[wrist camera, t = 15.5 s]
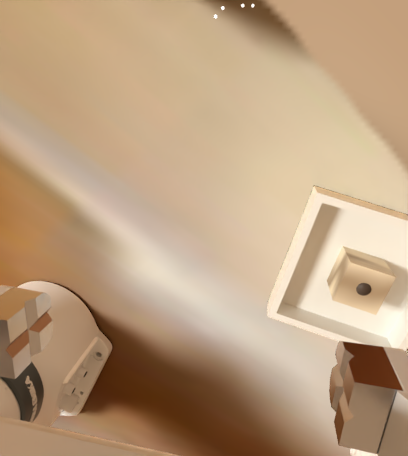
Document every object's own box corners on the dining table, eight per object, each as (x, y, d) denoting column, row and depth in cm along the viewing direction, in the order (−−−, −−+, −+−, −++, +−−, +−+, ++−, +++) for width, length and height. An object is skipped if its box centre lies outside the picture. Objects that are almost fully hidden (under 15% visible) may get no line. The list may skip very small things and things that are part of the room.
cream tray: (389, 342, 42) (399, 362, 39) (267, 301, 44) (267, 316, 40) (454, 229, 37) (471, 241, 34) (313, 185, 38) (317, 192, 35)
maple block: (365, 293, 40) (376, 315, 36) (326, 280, 41) (332, 300, 37) (383, 259, 39) (396, 277, 35) (342, 245, 39) (350, 262, 35)
